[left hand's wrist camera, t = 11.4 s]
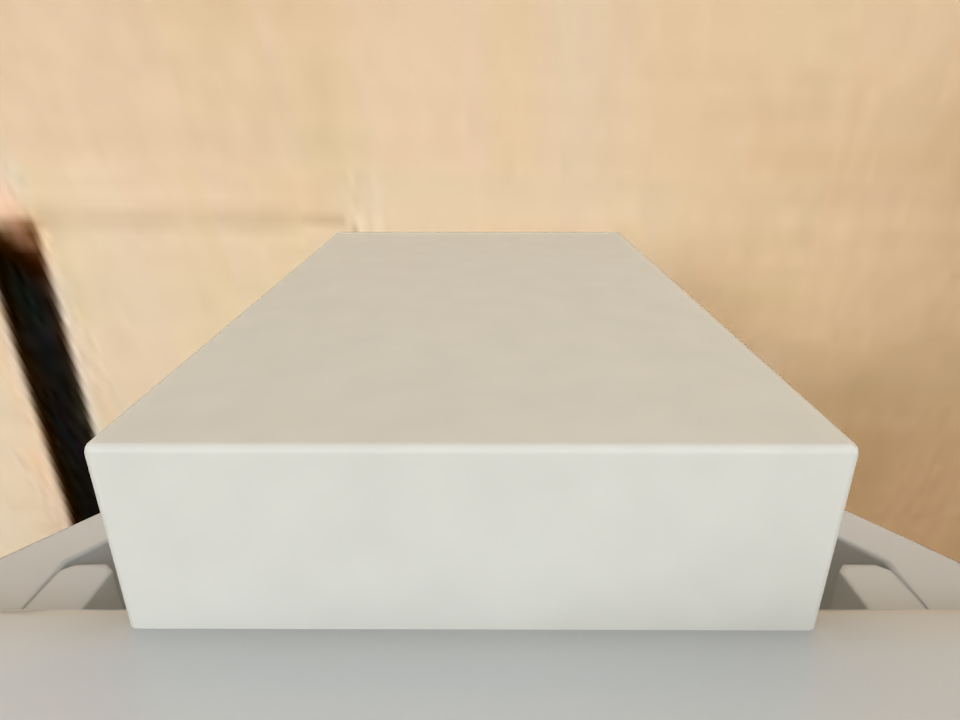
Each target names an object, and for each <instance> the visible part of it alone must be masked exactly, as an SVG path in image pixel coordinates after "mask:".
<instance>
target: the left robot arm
mask: <svg viewBox="0 0 960 720" xmlns="http://www.w3.org/2000/svg"><path fill="white" fill-rule="evenodd" d="M0 720H960V563H959V562H957V561H955V560H953V559H951V558H949V557H946V556H944V555H942V554H940V553H938V552H935V551H933V550H931V549H929V548H927V547H925V546H922V545H920V544H918V543H916V542H914V541H912V540H909V539H907V538H905V537H903V536H901V535H899V534H896V533H894V532H892V531H890V530H888V529H886V528H883V527H881V526H879V525H877V524H875V523H873V522H870V521H868V520H866V519H864V518H862V517H859V516H857V515H855V514H853V513H851V512H849V511H846V510H844V514H843V518H842V521H841V525H840V529H839V533H838V537H837V541H836V545H835V549H834V553H833V557H832V560H831V564H830V568H829V572H828V576H827V580H826V584H825V588H824V592H823V596H822V599H821V603H820V607H819V611H818V615H817V619H816V623H815V627H814V629H812V630H468V629H136V628H133V627H131V624H130V620H129V616H128V613H127V609H126V605H125V602H124V598H123V594H122V591H121V587H120V583H119V579H118V576H117V572H116V568H115V565H114V561H113V557H112V553H111V550H110V546H109V542H108V539H107V535H106V531H105V528H104V524H103V520H102V516H101V513H99V514H97V515H95V516H93V517H90V518H88V519H86V520H84V521H82V522H79V523H77V524H75V525H73V526H71V527H68V528H66V529H64V530H62V531H60V532H57V533H55V534H53V535H51V536H49V537H46V538H44V539H42V540H40V541H38V542H35V543H33V544H31V545H29V546H27V547H24V548H22V549H20V550H18V551H16V552H13V553H11V554H9V555H7V556H5V557H2V558H0Z"/></svg>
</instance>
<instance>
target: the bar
mask: <svg viewBox="0 0 960 720" xmlns="http://www.w3.org/2000/svg"><path fill="white" fill-rule="evenodd" d="M84 453H85V457H86V461H87V465H88V468H89V472H90V476H91V479H92V483H93V487H94V490H95V494H96V498H97V502H98V505H99V509H100V513H101V516H102V520H103V524H104V528H105V531H106V535H107V539H108V542H109V546H110V550H111V553H112V557H113V561H114V565H115V568H116V572H117V576H118V579H119V583H120V587H121V591H122V594H123V598H124V602H125V605H126V609H127V613H128V616H129V620H130V624H131V627H133V628H136V629H468V630H812V629H814V627H815V623H816V619H817V615H818V611H819V607H820V603H821V599H822V596H823V592H824V588H825V584H826V580H827V576H828V572H829V568H830V564H831V560H832V557H833V553H834V549H835V545H836V541H837V537H838V533H839V529H840V525H841V521H842V518H843V514H844V510H845V506H846V502H847V498H848V494H849V490H850V486H851V482H852V479H853V475H854V471H855V467H856V463H857V459H858V455H859V452H858V447H857V445H856V444H855V443H854V442H853V441H852V440H851V439H849V438H848V437H847V436H846V435H845V434H844V433H843V432H842V431H840V430H839V429H838V428H837V427H836V426H835V425H834V424H833V423H832V422H830V421H829V420H828V419H827V418H826V417H825V416H824V415H823V414H821V413H820V412H819V411H818V410H817V409H816V408H815V407H814V406H812V405H811V404H810V403H809V402H808V401H807V400H806V399H805V398H804V397H802V396H801V395H800V394H799V393H798V392H797V391H796V390H795V389H793V388H792V387H791V386H790V385H789V384H788V383H787V382H786V381H784V380H783V379H782V378H781V377H780V376H779V375H778V374H777V373H776V372H774V371H773V370H772V369H771V368H770V367H769V366H768V365H767V364H765V363H764V362H763V361H762V360H761V359H760V358H759V357H758V356H757V355H755V354H754V353H753V352H752V351H751V350H750V349H749V348H748V347H746V346H745V345H744V344H743V343H742V342H741V341H740V340H739V339H737V338H736V337H735V336H734V335H733V334H732V333H731V332H730V331H729V330H727V329H726V328H725V327H724V326H723V325H722V324H721V323H720V322H718V321H717V320H716V319H715V318H714V317H713V316H712V315H711V314H709V313H708V312H707V311H706V310H705V309H704V308H703V307H702V306H701V305H699V304H698V303H697V302H696V301H695V300H694V299H693V298H692V297H690V296H689V295H688V294H687V293H686V292H685V291H684V290H683V289H681V288H680V287H679V286H678V285H677V284H676V283H675V282H674V281H673V280H671V279H670V278H669V277H668V276H667V275H666V274H665V273H664V272H662V271H661V270H660V269H659V268H658V267H657V266H656V265H655V264H654V263H652V262H651V261H650V260H649V259H648V258H647V257H646V256H645V255H643V254H642V253H641V252H640V251H639V250H638V249H637V248H636V247H634V246H633V245H632V244H631V243H630V242H629V241H628V240H627V239H626V238H624V237H623V236H622V235H621V234H620V233H618V232H339V233H337V234H336V235H335V236H334V237H332V238H331V239H330V240H329V241H328V242H327V243H325V244H324V245H323V246H322V247H321V248H319V249H318V250H317V251H316V252H315V253H313V254H312V255H311V256H310V257H309V258H307V259H306V260H305V261H304V262H303V263H302V264H300V265H299V266H298V267H297V268H296V269H294V270H293V271H292V272H291V273H290V274H288V275H287V276H286V277H285V278H284V279H282V280H281V281H280V282H279V283H278V284H277V285H275V286H274V287H273V288H272V289H271V290H269V291H268V292H267V293H266V294H265V295H263V296H262V297H261V298H260V299H259V300H257V301H256V302H255V303H254V304H253V305H251V306H250V307H249V308H248V309H247V310H246V311H244V312H243V313H242V314H241V315H240V316H238V317H237V318H236V319H235V320H234V321H232V322H231V323H230V324H229V325H228V326H226V327H225V328H224V329H223V330H222V331H221V332H219V333H218V334H217V335H216V336H215V337H213V338H212V339H211V340H210V341H209V342H207V343H206V344H205V345H204V346H203V347H201V348H200V349H199V350H198V351H197V352H195V353H194V354H193V355H192V356H191V357H190V358H188V359H187V360H186V361H185V362H184V363H182V364H181V365H180V366H179V367H178V368H176V369H175V370H174V371H173V372H172V373H170V374H169V375H168V376H167V377H166V378H165V379H163V380H162V381H161V382H160V383H159V384H157V385H156V386H155V387H154V388H153V389H151V390H150V391H149V392H148V393H147V394H145V395H144V396H143V397H142V398H141V399H140V400H138V401H137V402H136V403H135V404H134V405H132V406H131V407H130V408H129V409H128V410H126V411H125V412H124V413H123V414H122V415H120V416H119V417H118V418H117V419H116V420H114V421H113V422H112V423H111V424H110V425H109V426H107V427H106V428H105V429H104V430H103V431H101V432H100V433H99V434H98V435H97V436H95V437H94V438H93V439H92V440H91V441H89V442H88V443H87V444H86V447H85V452H84Z"/></svg>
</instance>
